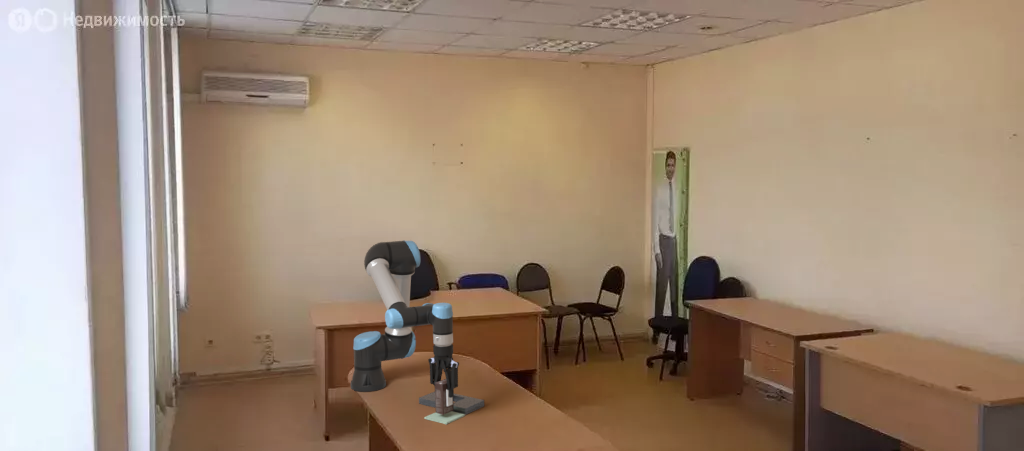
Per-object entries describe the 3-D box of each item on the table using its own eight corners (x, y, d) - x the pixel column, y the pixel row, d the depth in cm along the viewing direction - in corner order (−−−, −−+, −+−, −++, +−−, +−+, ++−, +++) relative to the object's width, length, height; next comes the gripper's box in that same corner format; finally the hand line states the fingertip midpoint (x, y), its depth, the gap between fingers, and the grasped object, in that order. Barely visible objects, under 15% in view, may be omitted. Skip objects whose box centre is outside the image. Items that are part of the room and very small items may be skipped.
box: (445, 408, 290) (445, 378, 289) (453, 411, 287) (453, 380, 286) (434, 412, 285) (434, 382, 284) (442, 415, 282) (442, 384, 281)
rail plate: (419, 403, 302) (418, 397, 302) (438, 395, 312) (438, 389, 312) (465, 414, 289) (465, 408, 288) (484, 406, 299) (484, 400, 298)
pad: (424, 418, 285) (424, 417, 285) (443, 410, 294) (442, 409, 294) (446, 424, 279) (446, 422, 279) (464, 415, 288) (464, 414, 288)
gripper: (419, 343, 286) (420, 402, 288) (454, 349, 276) (455, 411, 278) (432, 339, 292) (433, 397, 294) (467, 345, 282) (468, 405, 284)
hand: (444, 403), depth 286 cm, fingers closed on box, 4 cm apart
